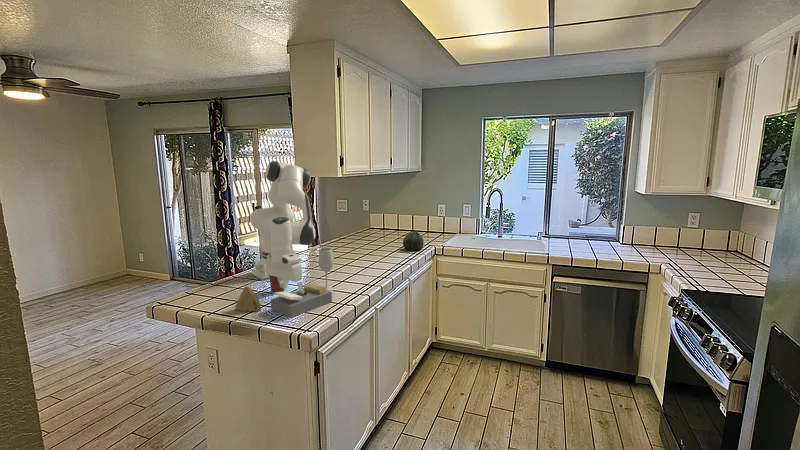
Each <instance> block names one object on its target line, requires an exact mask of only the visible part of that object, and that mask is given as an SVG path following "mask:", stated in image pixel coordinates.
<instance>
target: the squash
mask: <svg viewBox="0 0 800 450" xmlns="http://www.w3.org/2000/svg"><path fill="white" fill-rule="evenodd" d="M424 245H425V244H424V238H423V237H422V235H421V234H420V232H418V231H412V232H410V233H408V234H407V235H405V236H404V238H403V239H402V247H403V248H404V249H405V250H407V251H420V250H422V249H423V247H424Z"/></svg>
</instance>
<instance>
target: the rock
mask: <svg viewBox="0 0 800 450" xmlns="http://www.w3.org/2000/svg"><path fill="white" fill-rule="evenodd" d="M261 307H262V306H261V303H260V300H259V298H258V296H257V294H256V293H255V292H254V291H253V289H252V288H251V287H249V286H245V287H244V289H243V290H242V291H241V293H240V295H239V298H238V299H237V301H236V305H235V308H234V310H235V311H240V312H259V311H261V310H262V308H261Z"/></svg>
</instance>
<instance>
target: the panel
mask: <svg viewBox="0 0 800 450" xmlns="http://www.w3.org/2000/svg"><path fill="white" fill-rule="evenodd" d="M303 290H304V287H303ZM304 292H305V294H304V295H301V293H300V292H299V289H298V290H294V291H291V292H290V293H292V294H296V295H299V296H302V299H296V300H290V299H287V298H283V297H280V296H277V297H273V298H271V299H270V310H271V311H273V312H275V313H277V314H281V315H283V316H287V317H289V318H295V317H298V316H300V315H302V314H304V313H307V312H310V311H312V310H315V309H318V308H320V307H324V306H325V305H327V304H330V303H332V302H333V299H332V298H333V296H332V292H333V291H327V290H326V292H325V293H322V294H318V293H314V292H311V291H307V290H304Z"/></svg>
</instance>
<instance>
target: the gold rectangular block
mask: <svg viewBox="0 0 800 450" xmlns="http://www.w3.org/2000/svg"><path fill="white" fill-rule="evenodd" d="M324 287H325V286H324ZM324 287H323V286H322V285H321V286H320V285H316V284H312V283H307V284H303V288H304V290H307V291H311V292H314V293H318V294H322V293H325V292H326V288H324Z"/></svg>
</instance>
